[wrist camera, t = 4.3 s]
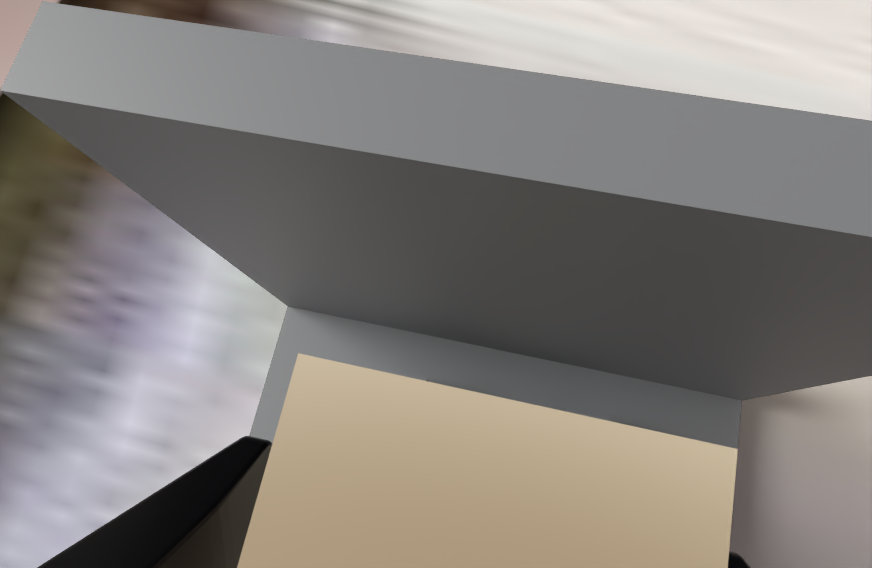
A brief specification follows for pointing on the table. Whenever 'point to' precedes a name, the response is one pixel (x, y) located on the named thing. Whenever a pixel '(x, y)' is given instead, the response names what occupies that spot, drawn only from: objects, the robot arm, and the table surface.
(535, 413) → the plywood panel
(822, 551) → the table surface
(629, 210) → the rack
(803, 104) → the table surface
